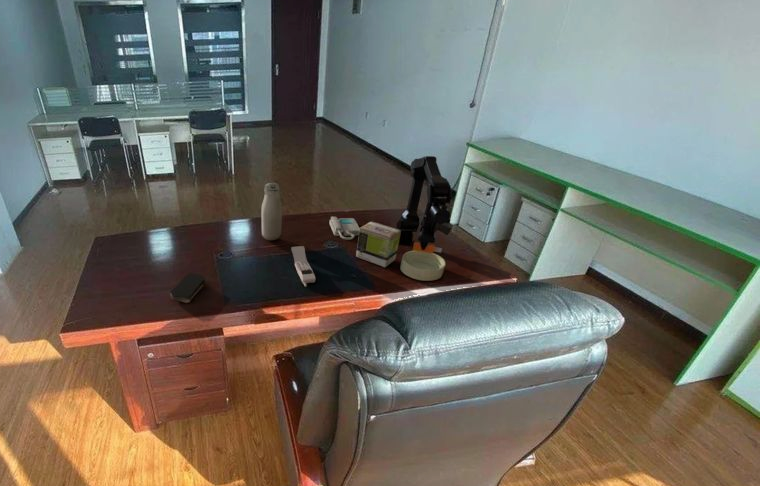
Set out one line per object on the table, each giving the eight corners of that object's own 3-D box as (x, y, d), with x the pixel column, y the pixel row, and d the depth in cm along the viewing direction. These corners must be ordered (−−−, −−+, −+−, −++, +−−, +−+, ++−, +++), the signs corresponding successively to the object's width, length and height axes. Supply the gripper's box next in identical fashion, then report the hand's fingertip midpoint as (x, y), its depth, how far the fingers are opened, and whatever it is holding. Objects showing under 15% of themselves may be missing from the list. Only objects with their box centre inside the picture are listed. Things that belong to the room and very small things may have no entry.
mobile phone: (303, 245, 178) (318, 273, 158) (303, 257, 181) (317, 286, 161) (290, 246, 177) (303, 275, 157) (290, 258, 181) (303, 287, 160)
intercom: (339, 236, 188) (329, 215, 208) (338, 244, 191) (328, 223, 211) (366, 236, 188) (354, 214, 209) (365, 244, 191) (353, 222, 211)
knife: (412, 250, 166) (414, 243, 164) (413, 247, 168) (414, 240, 166) (440, 254, 163) (442, 248, 161) (440, 252, 164) (442, 245, 163)
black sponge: (189, 279, 166) (188, 272, 164) (207, 283, 164) (206, 275, 162) (169, 301, 154) (167, 293, 152) (188, 305, 152) (187, 297, 149)
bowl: (397, 277, 166) (400, 265, 163) (402, 258, 179) (404, 247, 176) (441, 285, 161) (444, 273, 158) (442, 265, 174) (446, 254, 171)
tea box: (395, 259, 178) (402, 229, 170) (384, 268, 172) (390, 237, 164) (366, 249, 187) (371, 220, 178) (354, 257, 181) (359, 227, 172)
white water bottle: (264, 244, 191) (264, 188, 175) (259, 235, 199) (258, 180, 183) (284, 242, 193) (285, 186, 177) (278, 233, 201) (279, 178, 185)
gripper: (454, 225, 147) (443, 262, 156) (454, 207, 160) (444, 242, 170) (422, 221, 150) (413, 257, 159) (425, 203, 164) (417, 237, 173)
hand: (423, 248), depth 165 cm, fingers closed on knife, 2 cm apart
